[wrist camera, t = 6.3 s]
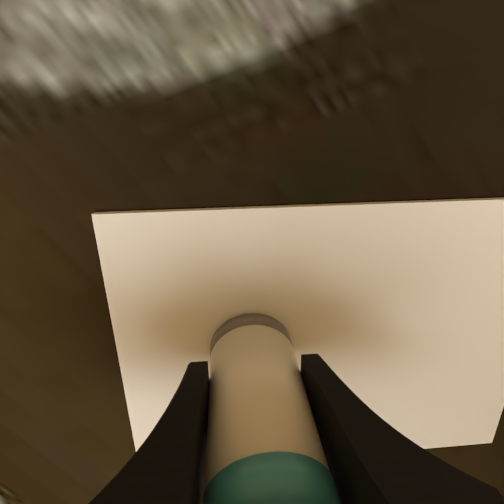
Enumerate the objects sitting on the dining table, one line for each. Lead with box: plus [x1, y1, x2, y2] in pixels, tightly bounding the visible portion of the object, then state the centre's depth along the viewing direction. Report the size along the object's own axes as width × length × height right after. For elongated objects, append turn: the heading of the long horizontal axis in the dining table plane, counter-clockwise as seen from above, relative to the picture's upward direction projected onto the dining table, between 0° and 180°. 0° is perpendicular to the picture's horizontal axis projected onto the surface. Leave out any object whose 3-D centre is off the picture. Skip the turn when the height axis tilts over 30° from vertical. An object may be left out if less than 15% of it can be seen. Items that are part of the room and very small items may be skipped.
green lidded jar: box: [203, 313, 341, 504], centre depth 12 cm, size 4×4×7 cm
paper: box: [91, 197, 504, 452], centre depth 16 cm, size 18×13×1 cm
